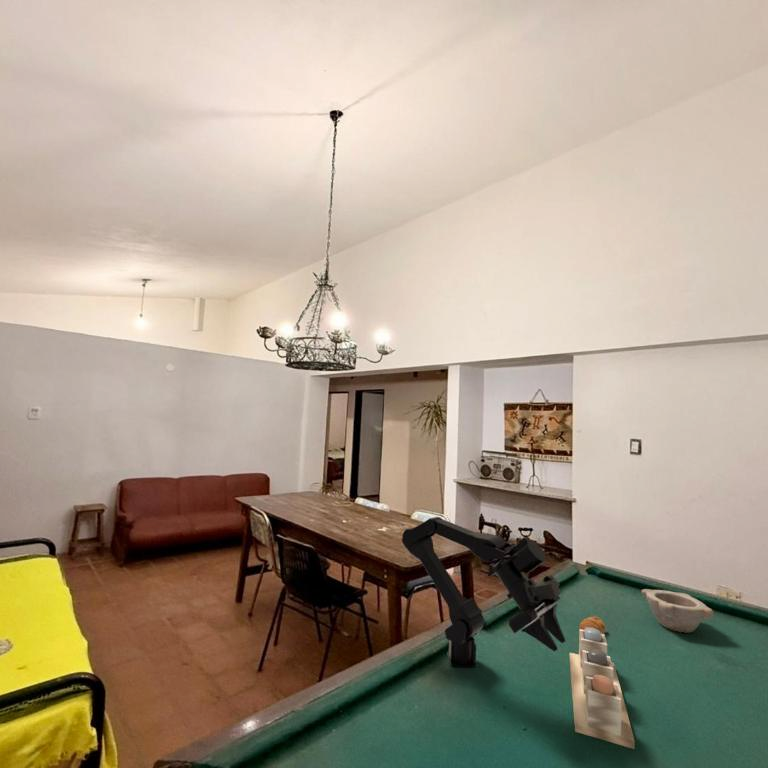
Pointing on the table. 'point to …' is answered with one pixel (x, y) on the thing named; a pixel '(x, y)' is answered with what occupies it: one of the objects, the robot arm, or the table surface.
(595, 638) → the pale blue rounded knob
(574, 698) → the button console
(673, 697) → the table surface
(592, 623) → the pastry
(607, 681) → the terracotta button
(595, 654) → the grey rounded piece
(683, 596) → the mortar
